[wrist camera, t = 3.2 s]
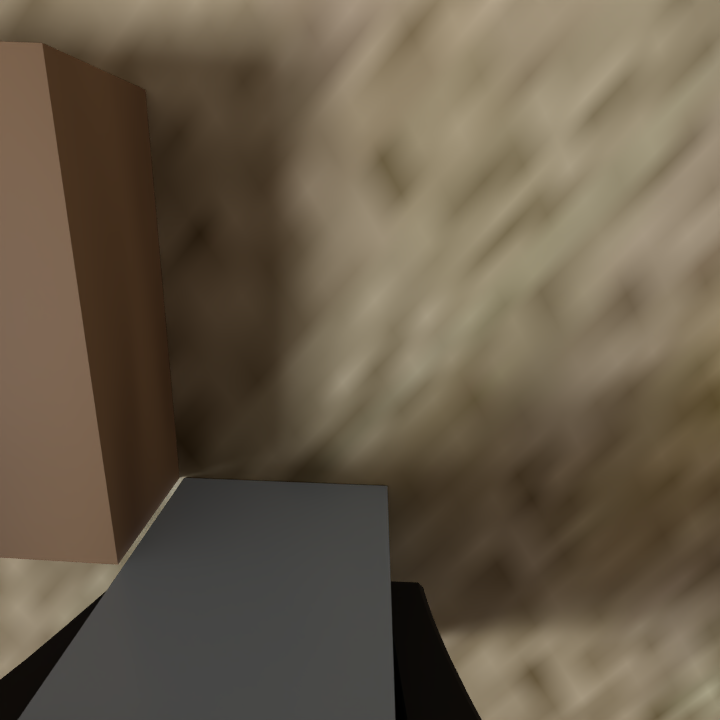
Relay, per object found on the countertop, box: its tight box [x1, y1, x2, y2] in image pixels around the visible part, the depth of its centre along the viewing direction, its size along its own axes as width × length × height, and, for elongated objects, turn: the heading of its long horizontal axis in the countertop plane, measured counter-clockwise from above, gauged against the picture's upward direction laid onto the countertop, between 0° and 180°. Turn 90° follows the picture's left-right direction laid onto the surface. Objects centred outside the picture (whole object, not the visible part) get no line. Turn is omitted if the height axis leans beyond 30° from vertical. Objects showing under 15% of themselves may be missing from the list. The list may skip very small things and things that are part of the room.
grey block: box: [18, 478, 395, 720], centre depth 8 cm, size 5×5×6 cm
